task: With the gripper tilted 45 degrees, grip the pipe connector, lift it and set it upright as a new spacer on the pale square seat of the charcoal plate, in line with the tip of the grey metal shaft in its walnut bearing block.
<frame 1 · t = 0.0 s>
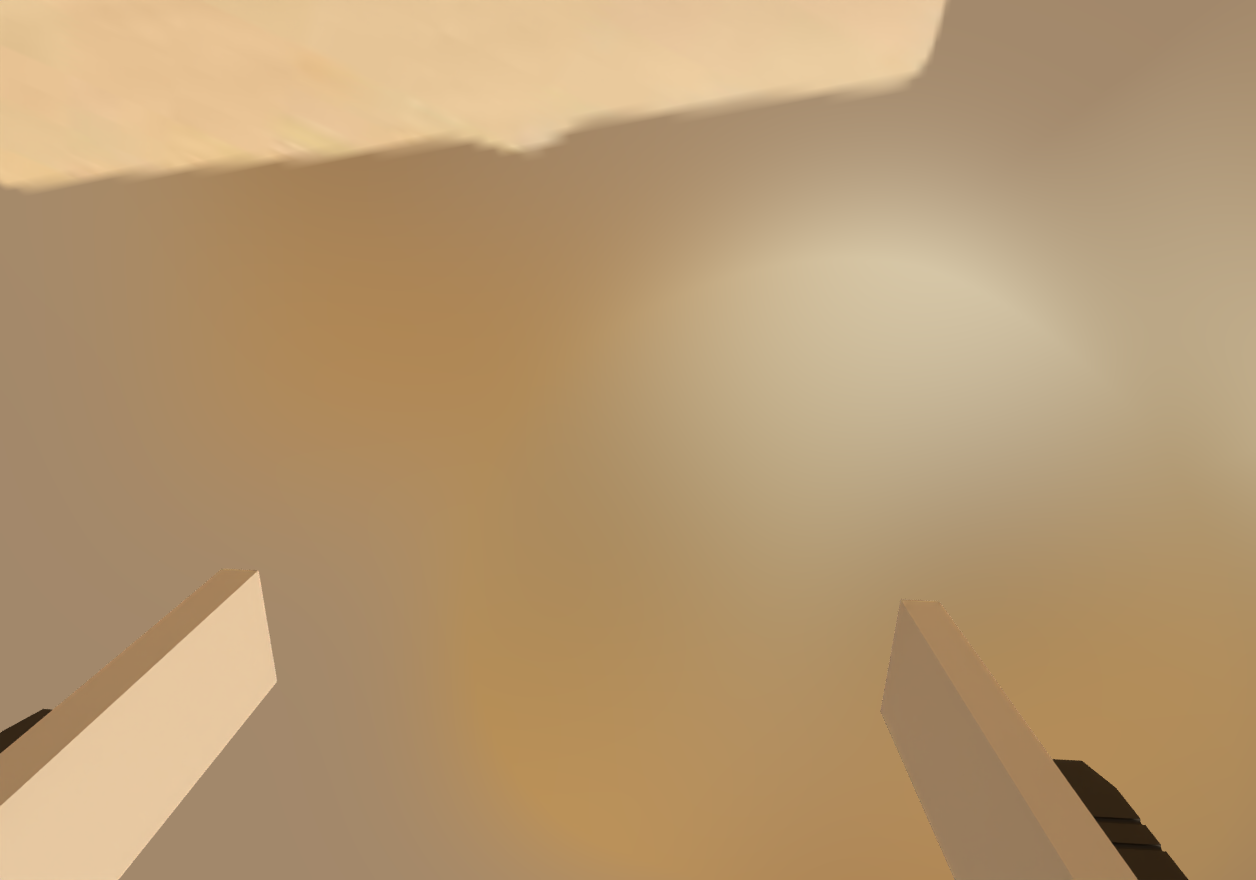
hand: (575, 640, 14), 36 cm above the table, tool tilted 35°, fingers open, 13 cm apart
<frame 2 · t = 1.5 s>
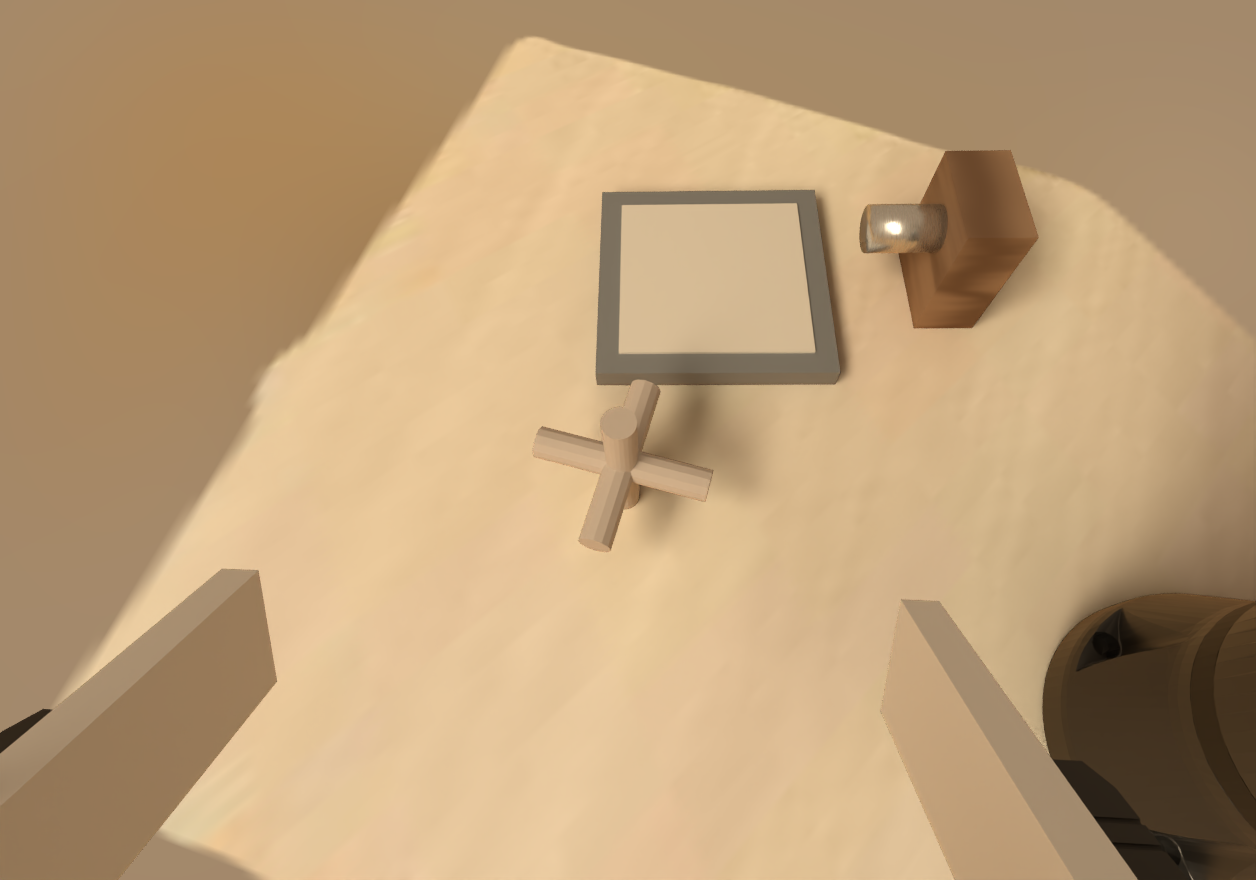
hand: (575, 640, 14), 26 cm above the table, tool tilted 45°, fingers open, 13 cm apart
pipe connector: (625, 496, 43), on the table
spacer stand: (710, 289, 50), on the table
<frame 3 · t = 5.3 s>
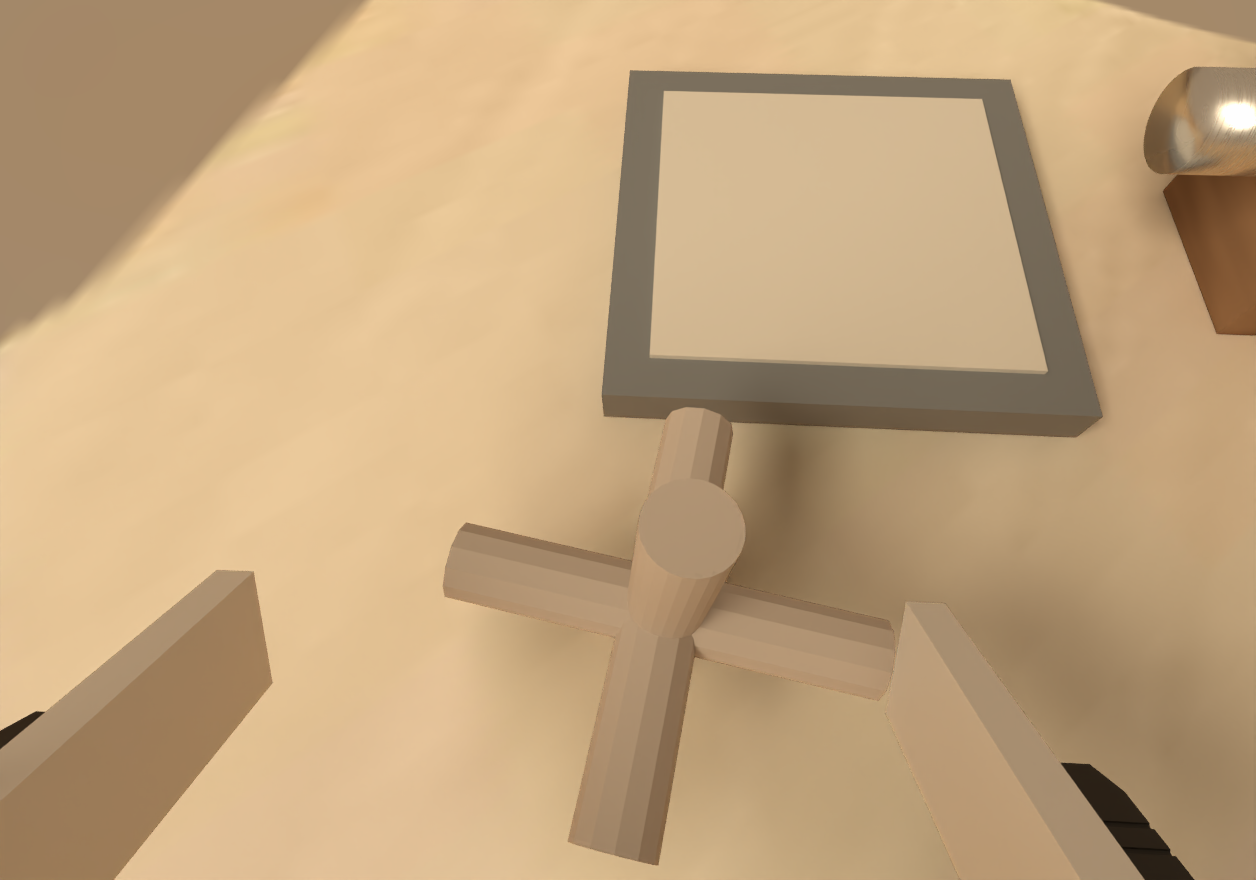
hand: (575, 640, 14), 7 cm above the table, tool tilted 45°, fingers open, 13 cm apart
pipe connector: (648, 656, 20), on the table, touching gripper
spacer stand: (821, 245, 27), on the table
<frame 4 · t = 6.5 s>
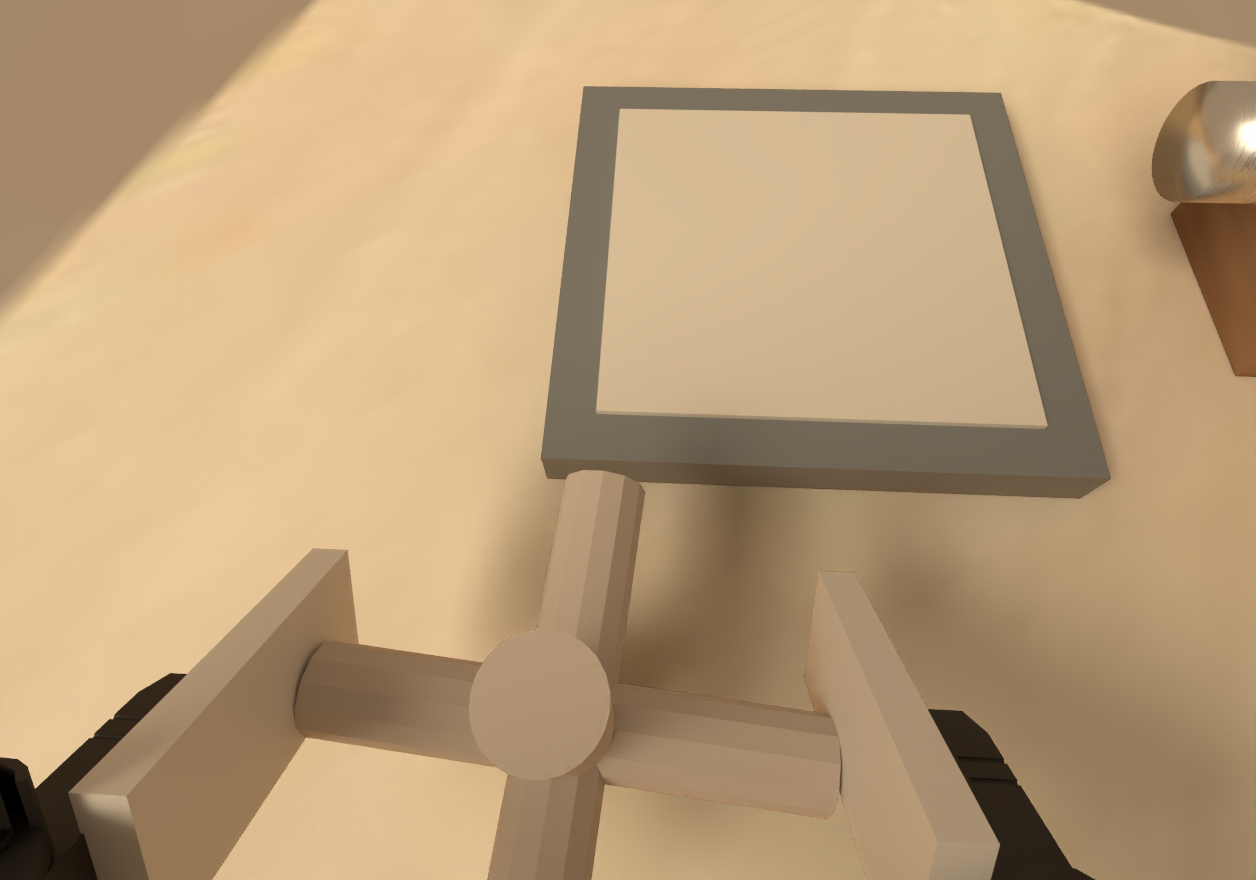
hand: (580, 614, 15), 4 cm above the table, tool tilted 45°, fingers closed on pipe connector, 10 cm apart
pipe connector: (582, 737, 18), on the table, touching gripper
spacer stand: (794, 278, 24), on the table
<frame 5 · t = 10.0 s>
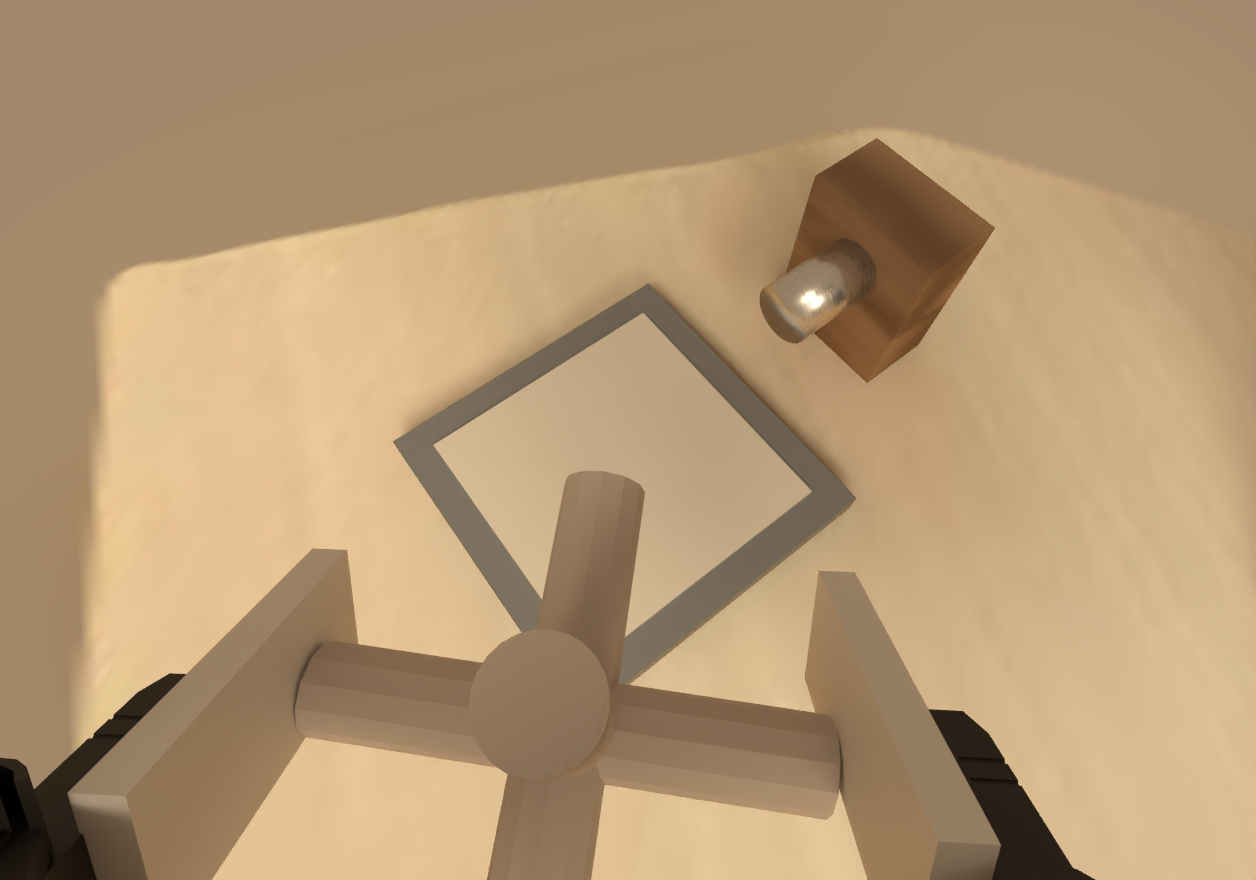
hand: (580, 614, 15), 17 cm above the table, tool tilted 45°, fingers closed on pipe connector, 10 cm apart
pipe connector: (582, 738, 18), point 12 cm above the table, touching gripper
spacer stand: (619, 481, 34), on the table
when the fingers open (7 cm above the table, at t = 13.6 s): pipe connector stays where it is, resting on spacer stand.
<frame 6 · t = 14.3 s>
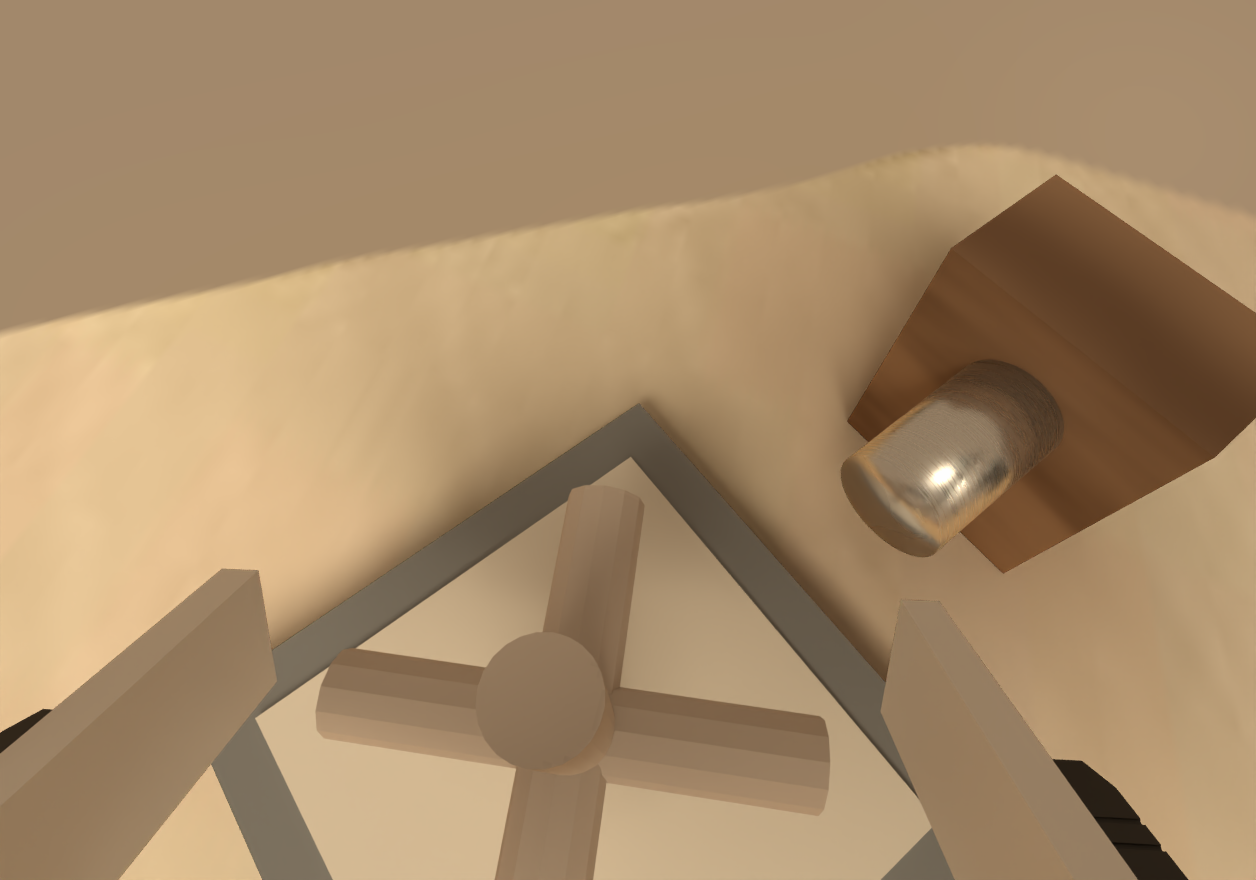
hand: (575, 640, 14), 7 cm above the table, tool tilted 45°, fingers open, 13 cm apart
pipe connector: (589, 743, 19), point 2 cm above the table, touching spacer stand
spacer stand: (588, 768, 20), on the table
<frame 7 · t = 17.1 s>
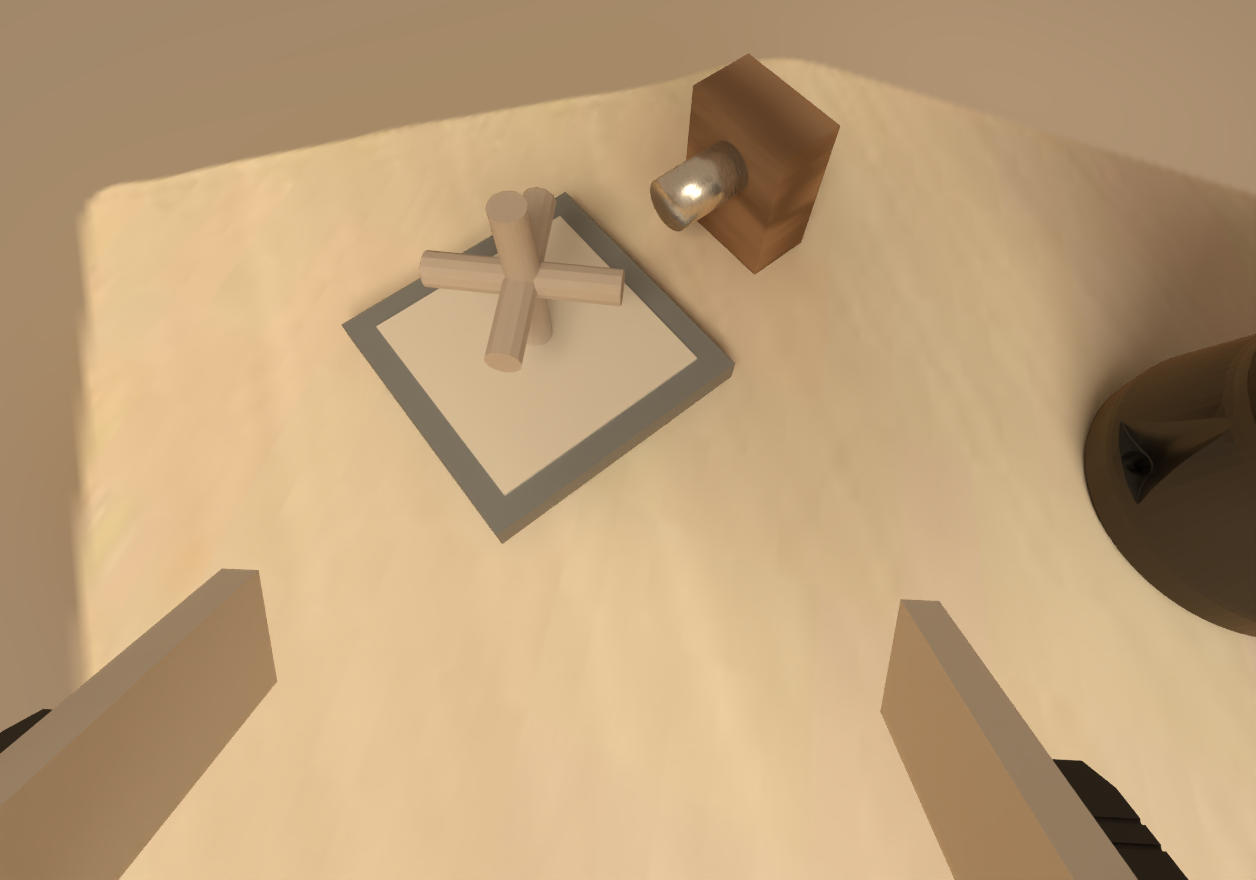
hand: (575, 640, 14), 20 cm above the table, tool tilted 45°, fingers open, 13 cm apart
pipe connector: (537, 334, 39), point 2 cm above the table, touching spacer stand
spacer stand: (538, 357, 40), on the table
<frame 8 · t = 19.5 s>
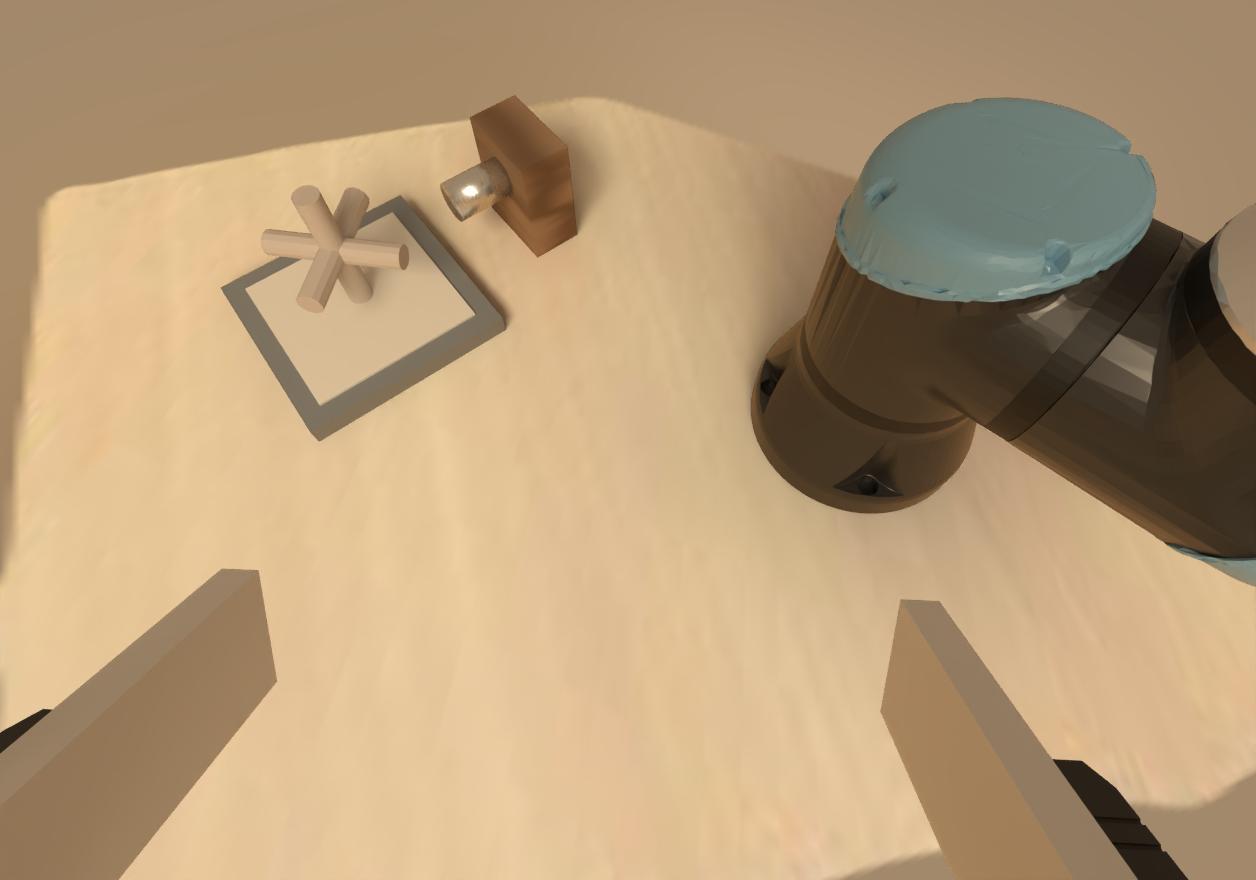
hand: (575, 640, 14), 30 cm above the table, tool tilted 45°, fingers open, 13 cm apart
pipe connector: (361, 296, 53), point 2 cm above the table, touching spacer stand
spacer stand: (366, 314, 54), on the table
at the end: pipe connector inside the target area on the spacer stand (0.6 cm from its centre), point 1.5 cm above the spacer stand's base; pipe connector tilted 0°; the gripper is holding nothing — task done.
